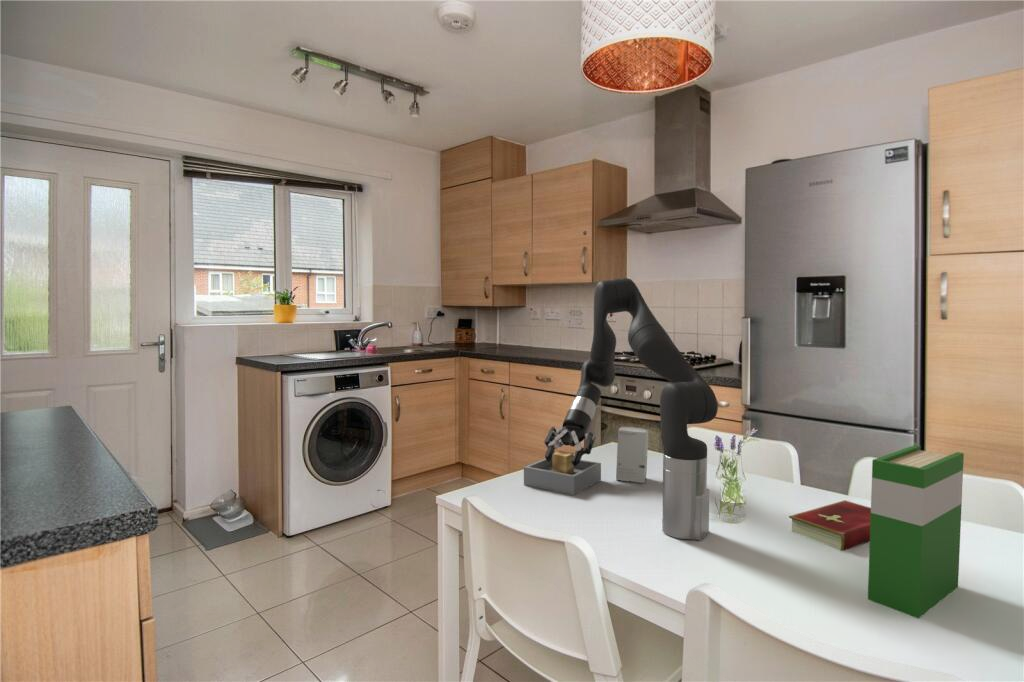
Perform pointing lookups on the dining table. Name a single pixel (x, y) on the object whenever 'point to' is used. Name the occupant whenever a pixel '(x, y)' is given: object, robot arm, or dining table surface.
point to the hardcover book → (835, 524)
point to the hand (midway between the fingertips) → (560, 462)
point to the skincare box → (632, 454)
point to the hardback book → (915, 529)
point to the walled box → (562, 476)
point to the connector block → (563, 462)
